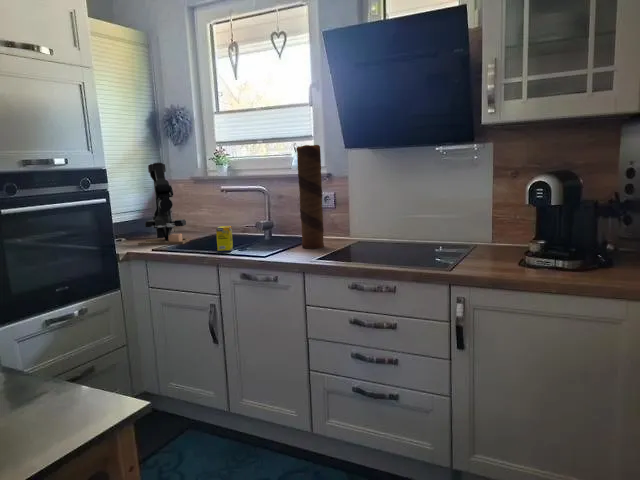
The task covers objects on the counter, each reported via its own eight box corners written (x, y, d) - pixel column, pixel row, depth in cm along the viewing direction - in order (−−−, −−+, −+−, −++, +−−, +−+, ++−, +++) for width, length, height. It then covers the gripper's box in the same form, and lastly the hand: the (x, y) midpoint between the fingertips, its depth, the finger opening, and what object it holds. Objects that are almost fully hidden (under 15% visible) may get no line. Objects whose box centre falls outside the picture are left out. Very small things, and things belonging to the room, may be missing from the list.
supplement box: (230, 252, 228) (229, 227, 226) (217, 252, 228) (215, 227, 226) (233, 249, 234) (231, 225, 232) (220, 250, 234) (218, 226, 232)
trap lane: (147, 243, 263) (147, 239, 262) (190, 242, 261) (189, 238, 261) (137, 247, 251) (137, 243, 250) (182, 246, 249) (182, 241, 249)
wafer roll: (312, 249, 225) (308, 144, 218) (296, 247, 233) (292, 145, 226) (329, 246, 232) (326, 144, 225) (314, 244, 240) (310, 145, 233)
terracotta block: (172, 241, 258) (172, 233, 258) (182, 241, 258) (181, 233, 257) (169, 243, 253) (168, 235, 253) (179, 243, 253) (178, 235, 252)
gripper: (139, 211, 246) (141, 243, 248) (177, 210, 245) (180, 242, 247) (148, 209, 257) (150, 240, 259) (185, 207, 256) (187, 239, 258)
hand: (167, 240), depth 255 cm, fingers closed
